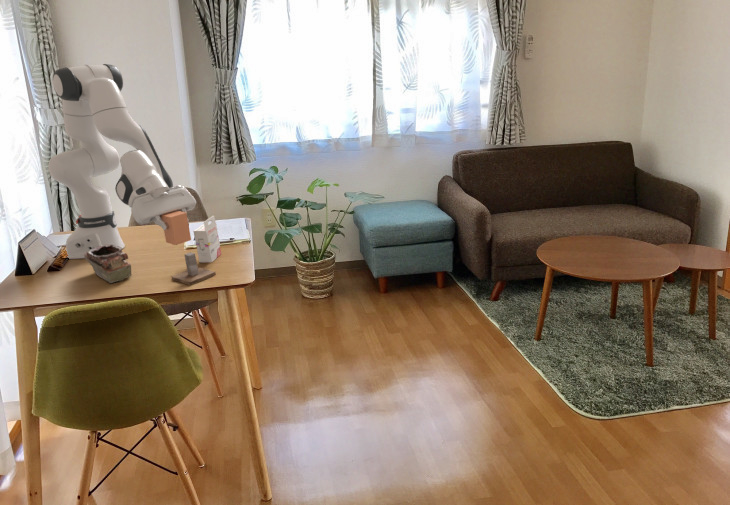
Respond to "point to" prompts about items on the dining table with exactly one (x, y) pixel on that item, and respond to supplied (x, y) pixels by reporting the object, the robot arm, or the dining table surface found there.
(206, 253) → the ink cartridge box
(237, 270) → the dining table surface
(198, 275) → the post stand
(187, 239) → the salmon pink toy brick
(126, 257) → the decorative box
